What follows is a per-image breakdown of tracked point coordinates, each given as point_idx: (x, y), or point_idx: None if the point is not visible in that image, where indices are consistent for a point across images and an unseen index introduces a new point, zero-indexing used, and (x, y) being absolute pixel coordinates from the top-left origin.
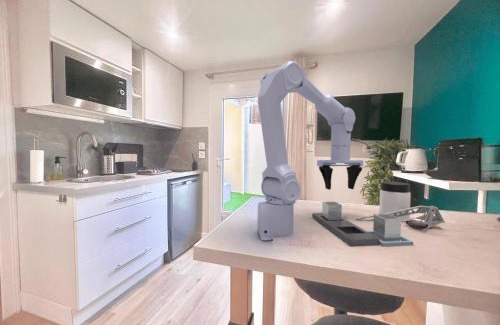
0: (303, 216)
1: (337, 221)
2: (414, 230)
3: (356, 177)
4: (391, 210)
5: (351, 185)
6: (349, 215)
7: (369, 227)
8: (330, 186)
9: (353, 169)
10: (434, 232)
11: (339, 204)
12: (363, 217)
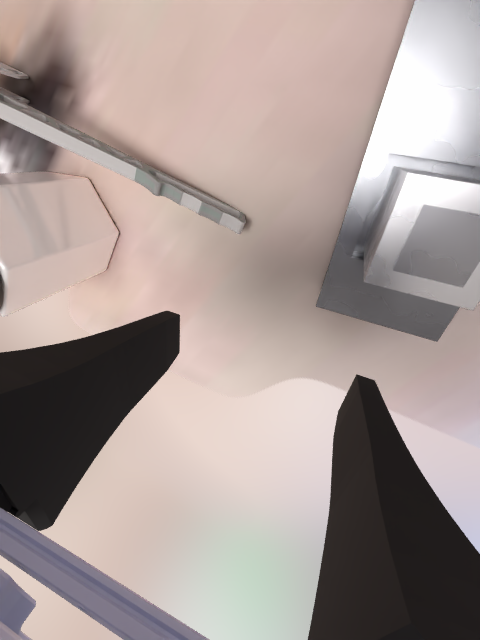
0: (411, 381)
1: (451, 145)
2: (80, 53)
3: (77, 344)
4: (65, 206)
5: (162, 333)
6: (207, 312)
7: (235, 146)
8: (364, 391)
9: (17, 431)
10: (21, 6)
11: (421, 185)
12: (210, 212)
